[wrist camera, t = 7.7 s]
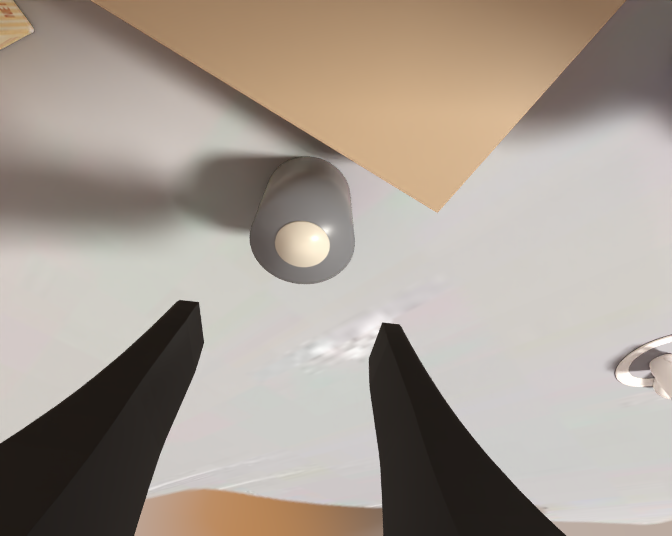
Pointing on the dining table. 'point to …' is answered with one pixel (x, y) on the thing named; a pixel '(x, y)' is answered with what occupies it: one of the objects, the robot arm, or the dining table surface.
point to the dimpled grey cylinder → (304, 222)
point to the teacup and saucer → (665, 369)
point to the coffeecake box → (12, 23)
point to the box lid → (384, 70)
